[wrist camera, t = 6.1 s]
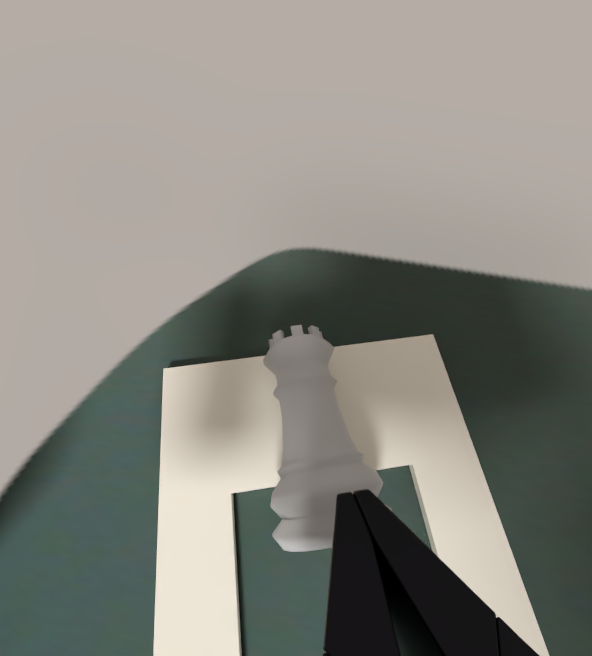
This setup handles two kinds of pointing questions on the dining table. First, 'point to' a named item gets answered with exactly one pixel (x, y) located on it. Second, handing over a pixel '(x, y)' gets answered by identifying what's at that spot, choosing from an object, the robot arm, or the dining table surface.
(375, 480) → the rook chess piece
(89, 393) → the dining table surface
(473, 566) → the cream u-shaped flat bracket
